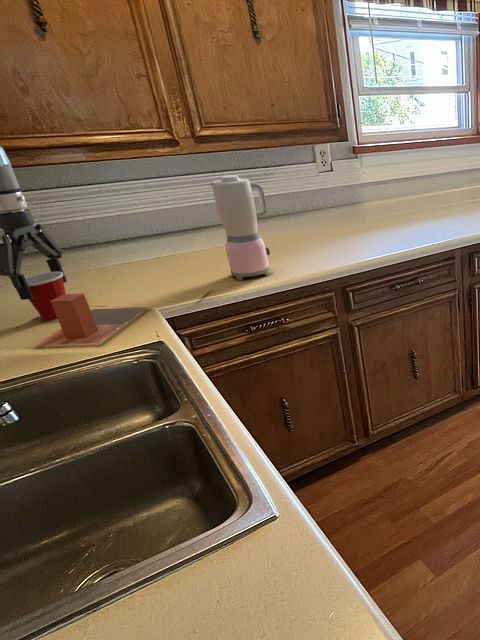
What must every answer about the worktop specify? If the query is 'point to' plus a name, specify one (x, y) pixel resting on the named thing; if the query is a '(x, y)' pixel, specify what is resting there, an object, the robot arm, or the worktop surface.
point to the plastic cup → (46, 292)
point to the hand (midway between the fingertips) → (45, 290)
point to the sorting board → (105, 323)
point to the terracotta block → (74, 315)
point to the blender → (241, 225)
